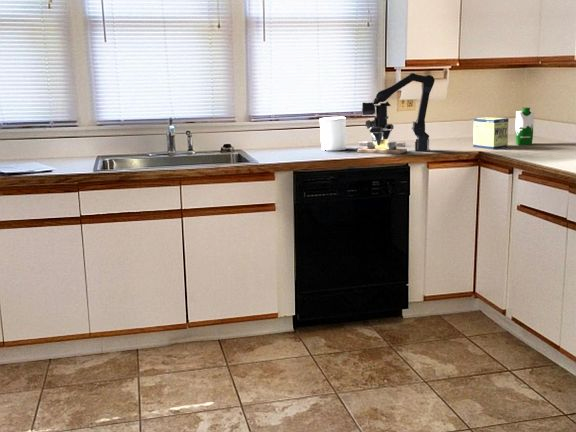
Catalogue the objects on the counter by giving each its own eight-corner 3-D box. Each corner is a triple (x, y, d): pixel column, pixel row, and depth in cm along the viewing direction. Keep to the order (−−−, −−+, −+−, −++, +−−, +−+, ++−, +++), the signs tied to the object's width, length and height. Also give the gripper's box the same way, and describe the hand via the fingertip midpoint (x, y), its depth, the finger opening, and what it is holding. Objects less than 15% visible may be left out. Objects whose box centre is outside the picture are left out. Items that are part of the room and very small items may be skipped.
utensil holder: (315, 150, 381) (314, 119, 377) (326, 147, 394) (326, 116, 390) (340, 151, 374) (339, 119, 370) (350, 148, 387) (350, 116, 383)
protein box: (493, 149, 358) (494, 119, 355) (472, 147, 371) (473, 118, 368) (508, 147, 363) (509, 118, 359) (486, 145, 376) (487, 116, 373)
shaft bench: (408, 151, 363) (408, 141, 361) (401, 153, 354) (401, 143, 353) (363, 150, 376) (363, 140, 375) (355, 152, 367) (355, 142, 366)
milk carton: (517, 145, 369) (518, 108, 365) (513, 143, 378) (514, 107, 374) (534, 145, 368) (535, 107, 364) (530, 143, 377) (531, 106, 373)
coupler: (379, 148, 368) (379, 138, 366) (387, 148, 365) (387, 139, 364) (376, 149, 364) (376, 139, 363) (384, 149, 362) (384, 139, 361)
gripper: (374, 113, 373) (374, 142, 376) (360, 116, 357) (360, 146, 360) (393, 113, 367) (393, 142, 370) (380, 116, 351) (380, 146, 355)
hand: (381, 144), depth 364 cm, fingers open, 8 cm apart
